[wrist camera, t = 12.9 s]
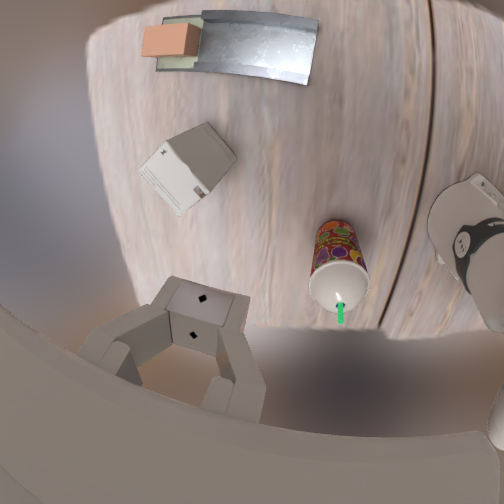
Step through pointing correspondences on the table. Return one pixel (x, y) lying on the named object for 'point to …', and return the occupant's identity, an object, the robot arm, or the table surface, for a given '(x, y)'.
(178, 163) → the skincare box
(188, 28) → the block
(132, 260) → the table surface
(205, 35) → the chute
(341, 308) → the smoothie
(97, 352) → the robot arm
